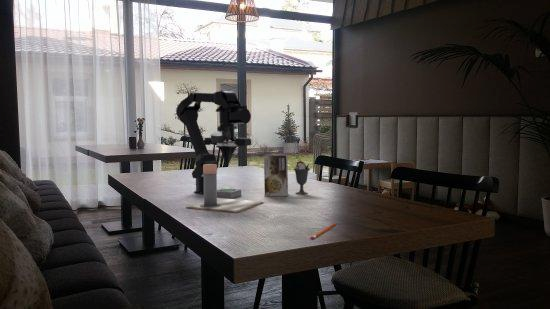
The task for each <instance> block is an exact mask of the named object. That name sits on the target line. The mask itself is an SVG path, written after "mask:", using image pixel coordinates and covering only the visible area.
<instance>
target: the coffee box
mask: <svg viewBox="0 0 550 309" xmlns="http://www.w3.org/2000/svg"><path fill="white" fill-rule="evenodd" d="M288 162H289V161H288V154H287V153H280V154H279V153H277V154H276V153H275V154H272V153H271V154H270V153H269V154H264V155H263V169H264V170H263V173H264V175H263V176H264V177H263V179H264V180H263V181H264V183H263V184H264V185H263V186H264V194H263V195H264V197H287V196H288V195H289V181H288V180H289V178H288V177H289V173H288V172H289V171H288V170H289V169H288V166H289V165H288Z"/></svg>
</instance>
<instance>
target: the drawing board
mask: <svg viewBox="0 0 550 309" xmlns="http://www.w3.org/2000/svg"><path fill="white" fill-rule="evenodd" d="M261 204H264V201H261V200H249V199H246V200H245V199H235V198H232V199H225V198H217V206H212V207H207V206H204V201H201V202H200V201H199V202H198V203H193V204H190V205H187V206H185V208H186V209H191V210H201V211H210V212H211V211H212V212H222V213H230V214H231V213H233V214H238V213H241V212H243V211H247V210H250V209H251V208H254V207H257V206H259V205H261Z"/></svg>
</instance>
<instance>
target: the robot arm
mask: <svg viewBox="0 0 550 309" xmlns="http://www.w3.org/2000/svg"><path fill="white" fill-rule="evenodd" d="M193 103H194V104H193ZM201 103H213V104H215V105H217V106H218V107H217V108H216V109H215V112H217V113H219V125H218V126H217V128H216V129H217V130H216V131H214V132H213V133H211V134H210V137H203V134H202V132H201V129H200V126H199V123H198V118H199V111H200V109H201V106H202V105H201ZM175 112H176V115H177V118H178V120H179V121H180V122H181V123H182V124H184V126H185V128H186V130H187V133H188V136H189V139H190V141H191V144H192V145H191V146H192V147H193V149H194V152H195V155H196V157H195V162H194V164H195V168H194V169H193V170H192V172H191V176H192V179H195V190H194V191H193V193H194V194H195V193H196V194H204V174H203V165H204V164H217V169H218V168H219V167H218V163H219V162H218V160H217V159H216V155H215V153H209V151H208V149H207V146H211V145H216V146H215V147H216V148H218V149H219V150H220V151H221V154H222V157H223V159H224V162H225V164H226V165H229V164H230V162H231V159H232V157H233V155H234V153H235V151H236V149H237V148H239V147H245V146H246V147H247V146H252V139H251V138H250V137H238V138H237V136H235V130H236V129H237V125H240V124H241V125H242V124H245V125H246V124H249V123H250V121H251V118H252V115H251V112H250V110H249V109H248V107H247V105H242V104H241V102H240V100H239V99H238V97H237V94H236V92H235V91H229V90H219V91H215V92H212V93H210V92H199V91H192V92H190V93H189V94H188V96H187V97H185V98H184V99H183V100H181V101H180V102H179V104H178V106H177V107H176V110H175ZM235 124H237V125H235Z"/></svg>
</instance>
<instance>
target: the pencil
mask: <svg viewBox="0 0 550 309" xmlns="http://www.w3.org/2000/svg"><path fill="white" fill-rule="evenodd" d="M335 226H337V222H333V223H331V224H330V225H329V226H327V227H325V228H323V229H322V230H320V231H319V232H318V233H315V234H314V235H313V236H311V237H310V240H313V239H314V240H316V239H317V238H318V237H320V236H321V235H323V234H325V233H327V230H328V231H329V230H330V229H333V228H334V227H335ZM322 233H323V234H322ZM319 235H320V236H319ZM316 237H317V238H316Z"/></svg>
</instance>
